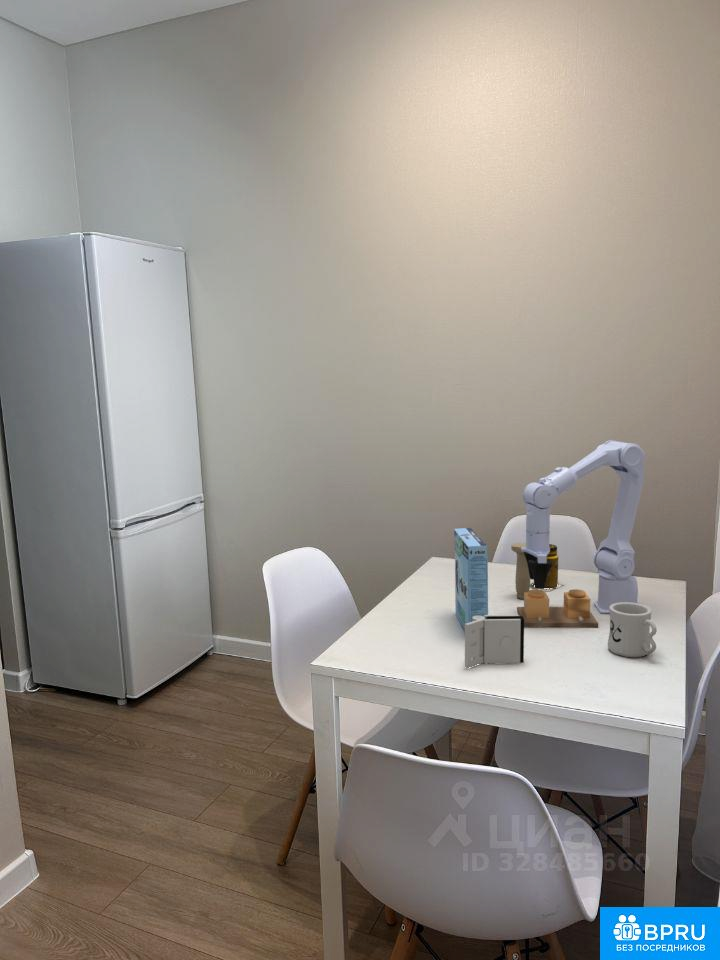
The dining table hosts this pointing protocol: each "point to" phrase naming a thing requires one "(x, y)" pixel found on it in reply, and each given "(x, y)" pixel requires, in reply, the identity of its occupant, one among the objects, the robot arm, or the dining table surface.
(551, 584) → the condiment
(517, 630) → the hinge
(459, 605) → the gum box
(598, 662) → the dining table surface
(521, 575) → the handle
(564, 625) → the junction board
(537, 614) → the cube with round boss
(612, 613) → the mug
